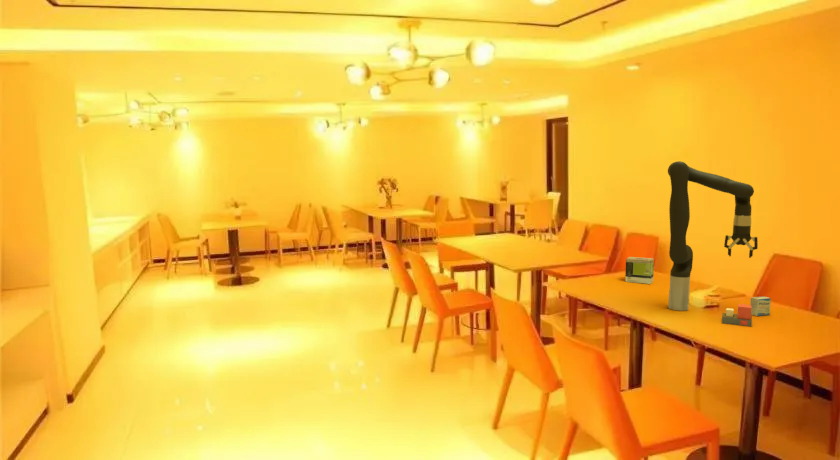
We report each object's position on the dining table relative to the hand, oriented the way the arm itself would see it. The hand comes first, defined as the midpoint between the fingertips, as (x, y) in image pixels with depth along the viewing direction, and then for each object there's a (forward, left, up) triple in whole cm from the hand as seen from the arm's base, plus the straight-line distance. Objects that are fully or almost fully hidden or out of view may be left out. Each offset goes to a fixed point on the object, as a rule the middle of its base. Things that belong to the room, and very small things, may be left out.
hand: (739, 256), depth 278 cm
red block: (+3, -20, -25) cm, 32 cm away
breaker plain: (-3, -20, -26) cm, 33 cm away
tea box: (-53, +50, -28) cm, 78 cm away
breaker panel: (0, -20, -28) cm, 34 cm away
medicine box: (+10, 0, -28) cm, 30 cm away
